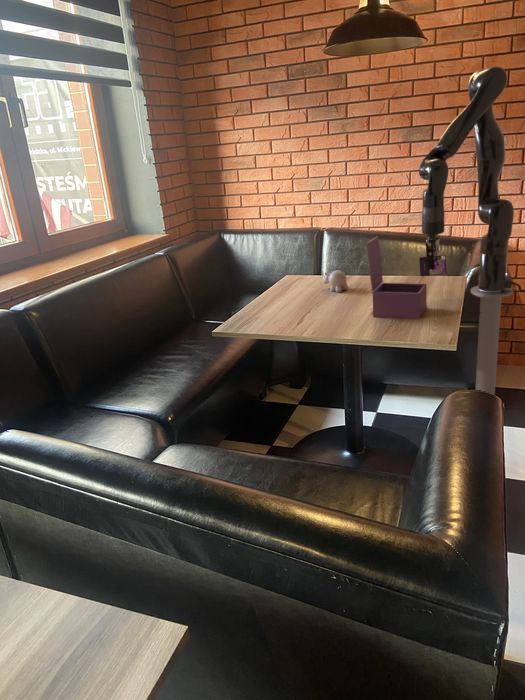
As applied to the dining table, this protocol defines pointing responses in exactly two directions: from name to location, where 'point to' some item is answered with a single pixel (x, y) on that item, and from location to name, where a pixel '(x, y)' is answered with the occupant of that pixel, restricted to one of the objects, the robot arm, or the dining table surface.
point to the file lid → (374, 262)
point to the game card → (426, 272)
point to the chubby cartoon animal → (336, 280)
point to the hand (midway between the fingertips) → (432, 267)
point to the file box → (399, 300)
